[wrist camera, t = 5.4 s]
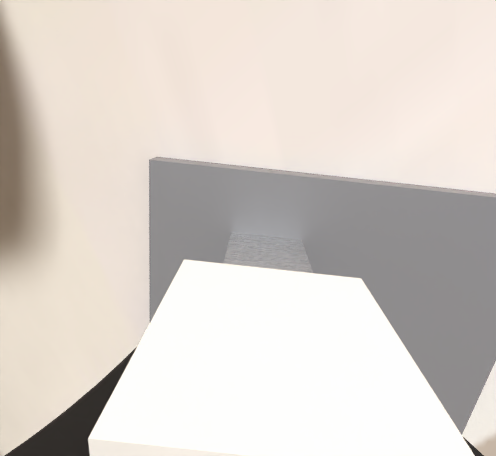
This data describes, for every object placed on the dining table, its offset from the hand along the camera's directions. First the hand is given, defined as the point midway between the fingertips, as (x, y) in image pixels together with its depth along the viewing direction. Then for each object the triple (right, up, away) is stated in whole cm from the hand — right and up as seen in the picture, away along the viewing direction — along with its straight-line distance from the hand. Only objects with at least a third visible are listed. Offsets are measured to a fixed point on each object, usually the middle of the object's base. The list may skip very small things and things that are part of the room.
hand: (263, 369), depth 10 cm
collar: (0, 0, +1) cm, 1 cm away
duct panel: (+4, -1, +9) cm, 10 cm away
